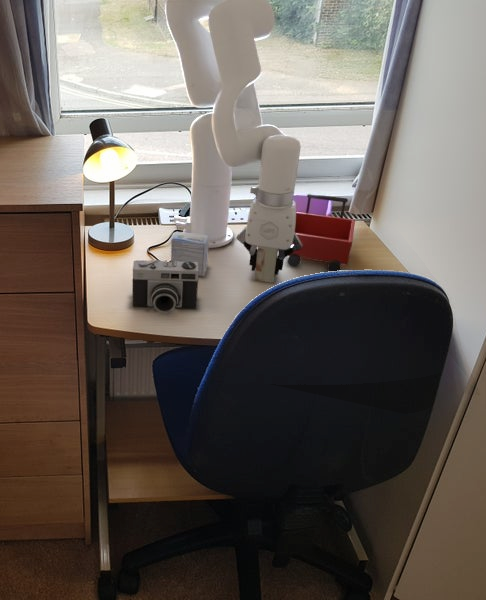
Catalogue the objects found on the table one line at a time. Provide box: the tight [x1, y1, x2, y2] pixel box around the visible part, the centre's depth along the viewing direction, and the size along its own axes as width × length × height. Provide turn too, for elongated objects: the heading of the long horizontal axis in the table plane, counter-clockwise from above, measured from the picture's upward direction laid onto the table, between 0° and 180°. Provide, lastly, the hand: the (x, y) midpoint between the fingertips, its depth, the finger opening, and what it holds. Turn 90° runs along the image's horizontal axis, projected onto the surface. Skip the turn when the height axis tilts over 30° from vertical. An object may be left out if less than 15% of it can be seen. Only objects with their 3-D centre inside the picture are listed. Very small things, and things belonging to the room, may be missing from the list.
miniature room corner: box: [293, 193, 333, 217], centre depth 163 cm, size 12×12×7 cm
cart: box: [287, 193, 356, 272], centre depth 149 cm, size 14×14×13 cm
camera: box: [131, 259, 199, 314], centre depth 132 cm, size 14×9×10 cm, turn 77°
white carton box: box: [254, 246, 279, 283], centre depth 142 cm, size 5×4×10 cm
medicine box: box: [170, 231, 209, 277], centre depth 145 cm, size 8×4×9 cm, turn 71°
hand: (265, 269), depth 143 cm, fingers closed on white carton box, 4 cm apart
